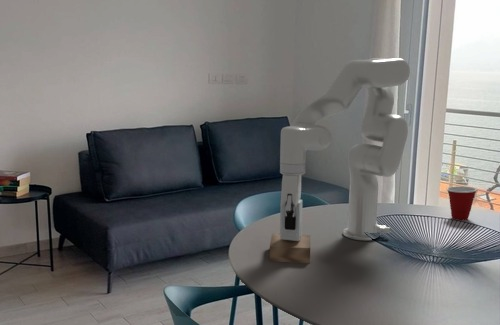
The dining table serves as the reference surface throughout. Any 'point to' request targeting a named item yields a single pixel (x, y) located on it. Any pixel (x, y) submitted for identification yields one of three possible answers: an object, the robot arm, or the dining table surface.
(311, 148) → the robot arm
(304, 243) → the tan flat square block
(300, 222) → the skincare box
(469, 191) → the plastic cup
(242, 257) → the dining table surface
